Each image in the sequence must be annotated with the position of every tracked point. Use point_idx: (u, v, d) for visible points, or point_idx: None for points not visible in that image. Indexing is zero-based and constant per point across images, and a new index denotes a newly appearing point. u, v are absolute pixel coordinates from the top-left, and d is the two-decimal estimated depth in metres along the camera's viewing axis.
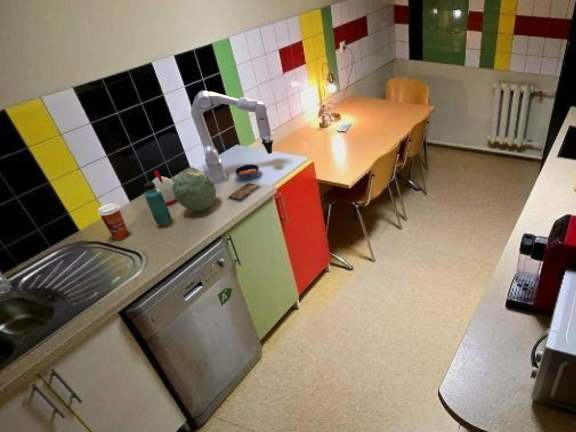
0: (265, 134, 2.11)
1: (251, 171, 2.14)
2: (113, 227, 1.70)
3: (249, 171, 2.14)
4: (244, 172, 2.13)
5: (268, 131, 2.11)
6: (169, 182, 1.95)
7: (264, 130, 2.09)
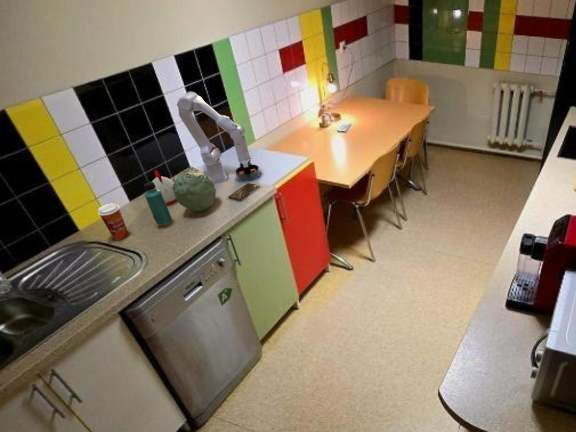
0: (243, 158, 2.08)
1: (251, 171, 2.14)
2: (113, 227, 1.70)
3: None
4: None
5: (247, 155, 2.08)
6: (169, 182, 1.95)
7: (242, 154, 2.07)
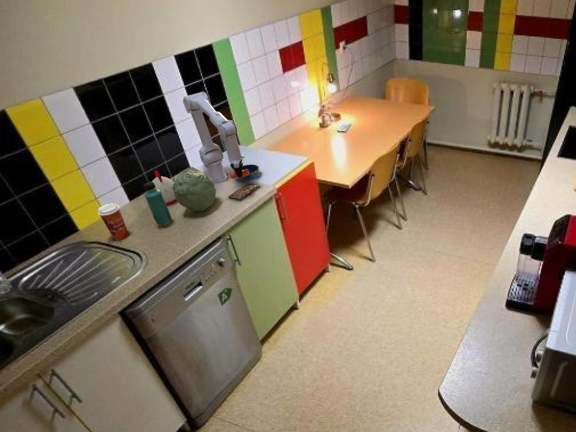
0: (234, 158, 1.89)
1: (243, 172, 1.96)
2: (113, 227, 1.70)
3: None
4: (235, 173, 1.95)
5: (238, 155, 1.90)
6: (169, 182, 1.95)
7: (233, 154, 1.88)
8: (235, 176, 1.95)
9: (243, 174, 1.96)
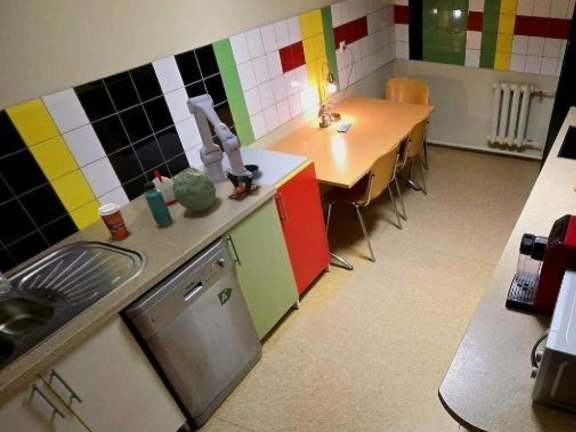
0: (242, 170, 1.94)
1: None
2: (113, 227, 1.70)
3: (245, 185, 2.00)
4: (241, 187, 1.98)
5: (243, 166, 1.95)
6: (169, 182, 1.95)
7: (241, 166, 1.93)
8: (242, 190, 1.99)
9: None
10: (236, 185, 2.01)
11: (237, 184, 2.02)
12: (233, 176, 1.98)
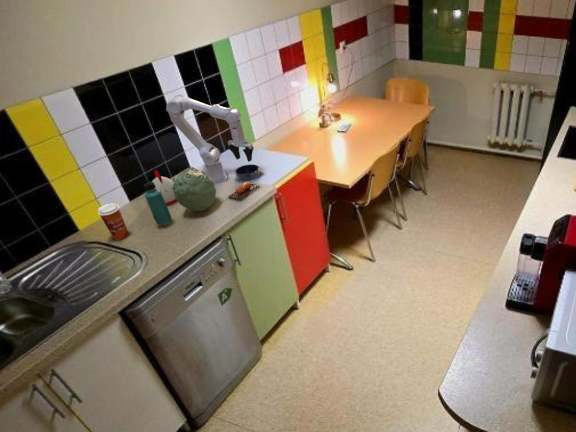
0: (243, 142, 2.05)
1: (247, 184, 2.01)
2: (113, 227, 1.70)
3: (245, 185, 2.00)
4: (241, 187, 1.98)
5: (244, 138, 2.06)
6: (169, 182, 1.95)
7: (242, 138, 2.04)
8: (242, 190, 1.99)
9: (247, 186, 2.01)
10: (237, 157, 2.12)
11: (238, 156, 2.13)
12: (234, 148, 2.10)
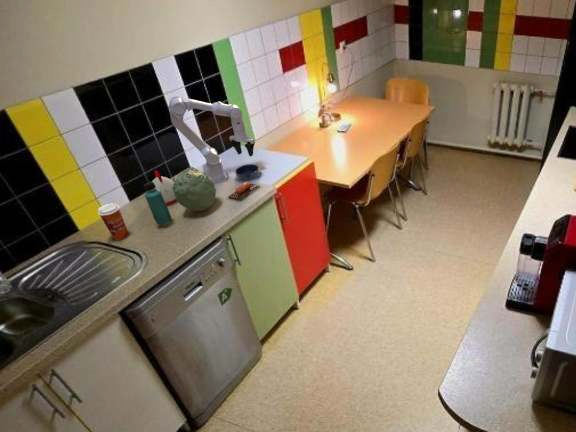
0: (245, 137, 2.11)
1: (247, 184, 2.01)
2: (113, 227, 1.70)
3: (245, 185, 2.00)
4: (241, 187, 1.98)
5: None
6: (169, 182, 1.95)
7: (244, 133, 2.09)
8: (242, 190, 1.99)
9: (247, 186, 2.01)
10: (239, 152, 2.18)
11: (240, 151, 2.18)
12: (236, 143, 2.15)
